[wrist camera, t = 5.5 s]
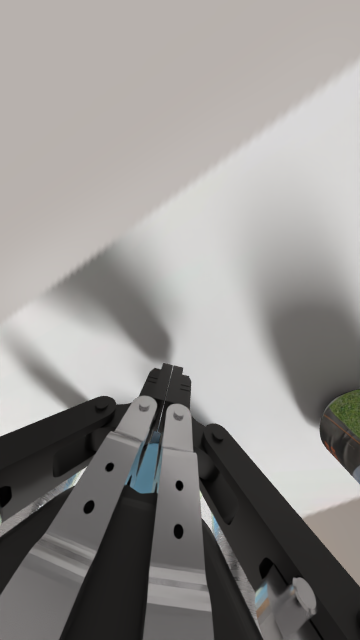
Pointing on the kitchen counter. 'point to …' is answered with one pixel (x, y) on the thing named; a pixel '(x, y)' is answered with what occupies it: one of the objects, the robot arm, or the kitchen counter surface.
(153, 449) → the ball
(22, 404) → the kitchen counter surface
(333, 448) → the beverage can
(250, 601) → the post
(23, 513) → the post
